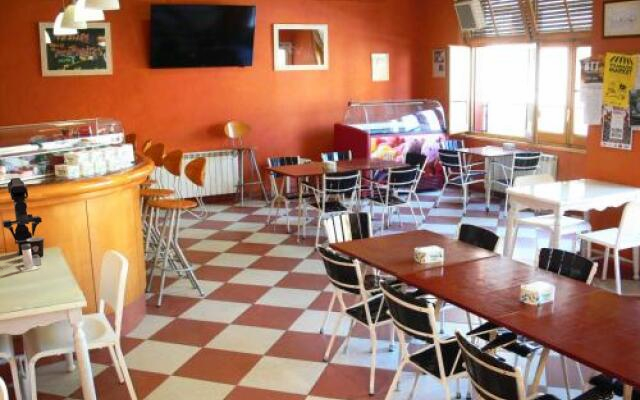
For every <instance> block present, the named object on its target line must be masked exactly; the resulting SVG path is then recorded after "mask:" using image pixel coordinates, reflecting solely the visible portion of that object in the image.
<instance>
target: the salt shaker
mask: <svg viewBox="0 0 640 400" xmlns="http://www.w3.org/2000/svg"><path fill="white" fill-rule="evenodd" d="M21 246H22V252H23V254H22V257H23V258H22V260H23V259H24V265H23V266H24V267H25V269H26V270H28V269H32V268H33V262H32V255H31V246H30V244H23V245H21Z"/></svg>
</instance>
